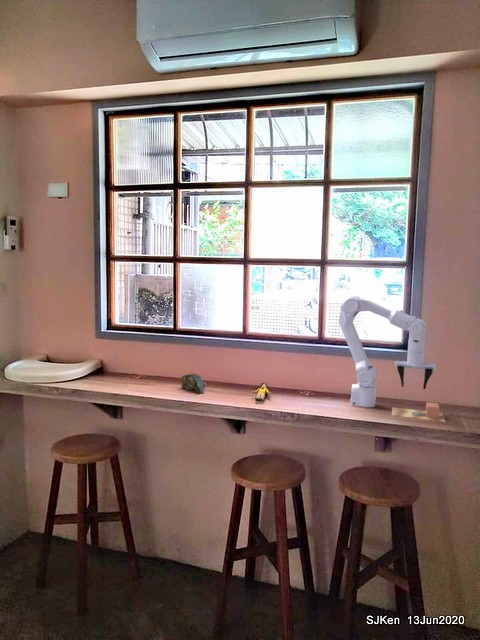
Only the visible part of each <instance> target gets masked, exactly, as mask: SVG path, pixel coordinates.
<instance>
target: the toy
mask: <svg viewBox="0 0 480 640" xmlns="http://www.w3.org/2000/svg"><path fill="white" fill-rule="evenodd" d="M251 394H256V397H255V400H254V401H255V404H263V403H264V400H265V398H266V397H267V396H270V395H271V396H272V393H271V391H269V387H268V383H266V382H262V383H260V385H259V386H258V387H257V389H256V390H252V391H251Z"/></svg>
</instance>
